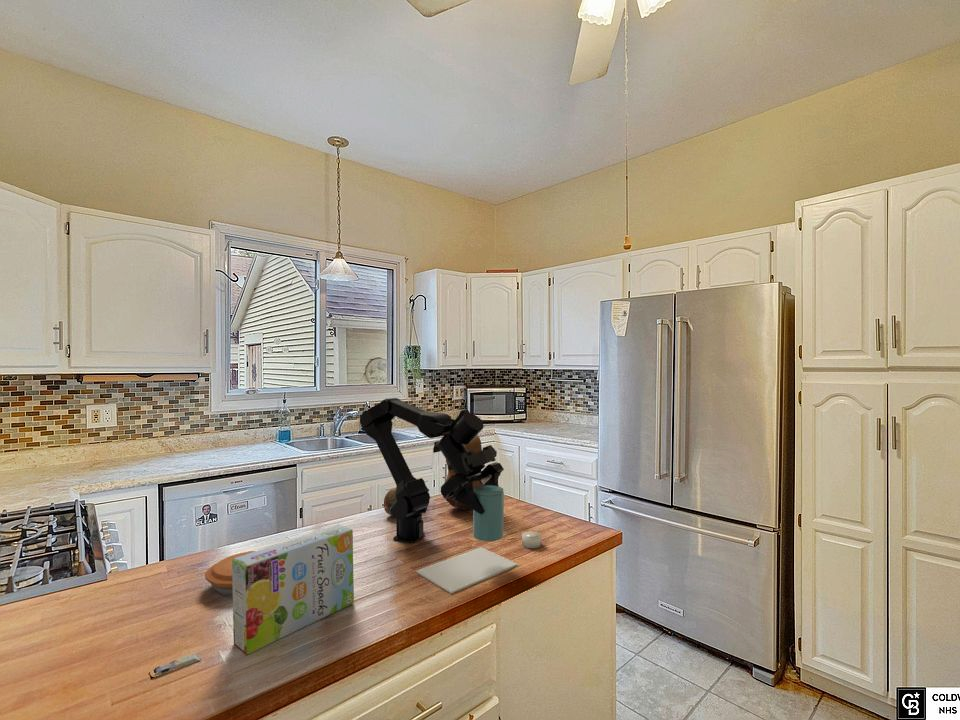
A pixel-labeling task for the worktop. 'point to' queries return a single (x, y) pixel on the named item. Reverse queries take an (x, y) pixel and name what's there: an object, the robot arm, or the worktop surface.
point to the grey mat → (466, 569)
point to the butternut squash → (472, 446)
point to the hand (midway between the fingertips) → (492, 509)
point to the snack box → (291, 586)
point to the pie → (223, 575)
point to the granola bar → (176, 664)
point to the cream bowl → (531, 539)
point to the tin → (390, 500)
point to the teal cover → (489, 513)
